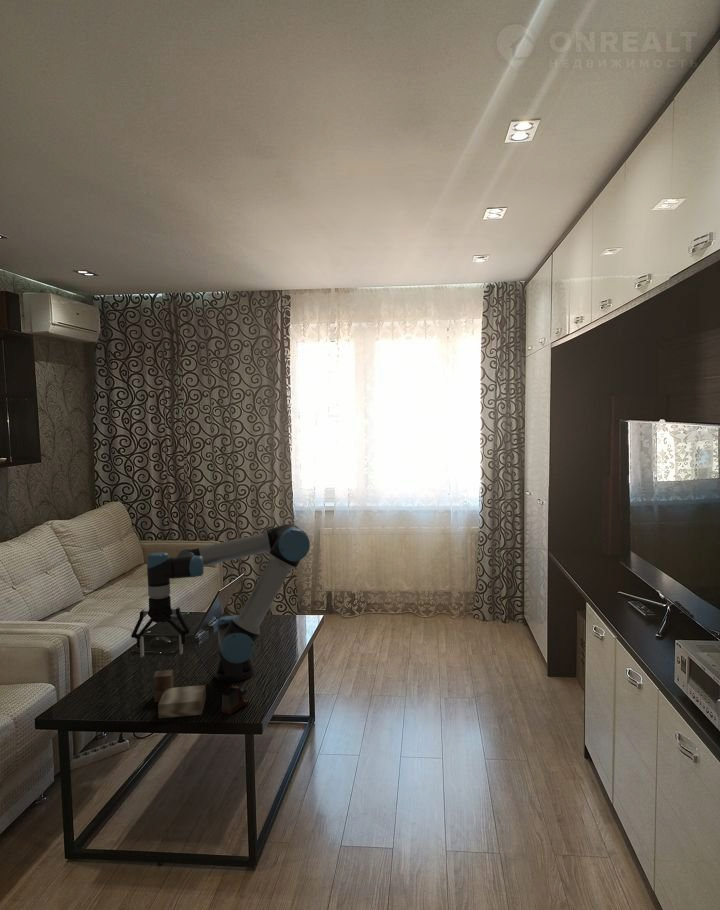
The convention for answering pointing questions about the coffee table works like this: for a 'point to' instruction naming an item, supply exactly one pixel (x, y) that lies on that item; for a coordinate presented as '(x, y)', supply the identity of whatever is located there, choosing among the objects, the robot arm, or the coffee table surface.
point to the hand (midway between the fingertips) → (161, 654)
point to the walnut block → (162, 683)
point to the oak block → (182, 701)
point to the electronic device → (233, 700)
